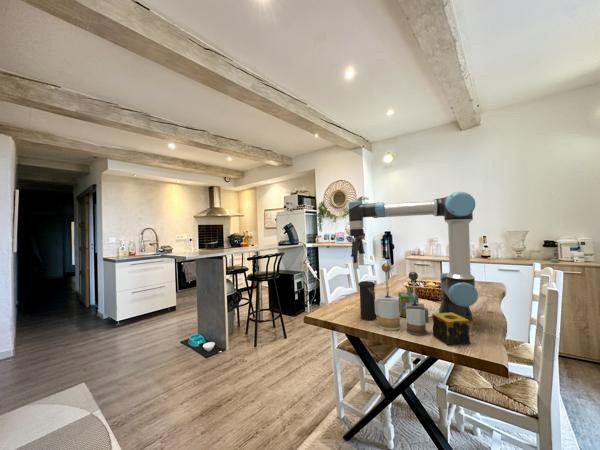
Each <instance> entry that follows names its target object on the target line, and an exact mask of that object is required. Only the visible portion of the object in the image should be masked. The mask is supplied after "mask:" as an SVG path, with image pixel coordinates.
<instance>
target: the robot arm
mask: <svg viewBox="0 0 600 450" xmlns="http://www.w3.org/2000/svg"><path fill="white" fill-rule="evenodd" d="M475 208H476V200H475V198H474V196H473V195H471V194H470V193H468V192H465V191H456V192H453V193H450V194H449V195H447V196H445V197H440V198H434V199H433V200H428V201H426V200H425V201H415V202H413V201H411V202H401V203H399V202H398V203H387V204H386V203H385V202H373V203H372V202H371V203H363V202H362V200H351V201H349V202H348V220H349V223H348V225H349V229H350V230H349V236H351V253H350V257H351V258H352V267H353V268H352V269H353V270H360V266H365V259H364V254H365V248H364V244H363V243H364V242H363V237H362V236H364V235H365V229H364V227H365V226H364V218H372V219H378V218H390V217H391V218H392V217H393V218H394V217H410V216H411V217H414V216H415V217H416V216H429V215H430V216H434V217H444V218H443V220H444V222H445V223H447V230H448V234H447V235H448V264H449V265H448V267H449V272H444V273H443V272H442V273H441V274H440V279H439V280H440V288H441V289H440V290H441V302H440V307H439V310H438V313H450V312H453V313H455V314H457V315H459V316H461V317H463V318H465V319H468V320H469V322H470V321H472V320H473V318H474V317H473V313H472V310H471V308H470V306H472V305H474V304H476V302H477V301H478V299H479V292H478V290H477V288H476V281H475V280H476V279H475V276H474V275H473V274H471V246H470V245H471V244H470V241H471V239H470V223H471V222H472V221H473V220H474V217H473V215H474V214H473V212H474V211H475Z"/></svg>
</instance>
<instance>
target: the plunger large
mask: <svg viewBox="0 0 600 450" xmlns="http://www.w3.org/2000/svg"><path fill="white" fill-rule="evenodd" d="M391 269H392V268H391V264H389V263H383V264H382V265H381V270H382V272H384V273H385V292H386V295H387V298H389V295H390V294H389V293H390V292H389V279H388V277H389V276H388V275H389V274H388V272H390V271H391Z"/></svg>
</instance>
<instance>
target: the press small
mask: <svg viewBox="0 0 600 450" xmlns="http://www.w3.org/2000/svg"><path fill="white" fill-rule="evenodd" d="M405 318H406V333H408V334H410V335H413V336H418V337H421V336H426V335H427V327H426V326H427V324H429V320H430V319H429V309H428V308H427V307H425V305H424V303H416V306H414V303H406V317H405Z"/></svg>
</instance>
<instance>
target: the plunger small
mask: <svg viewBox="0 0 600 450" xmlns="http://www.w3.org/2000/svg"><path fill="white" fill-rule="evenodd" d="M418 278H419V275H418V273H417V272H415V271H410V272H409V273H408V279H409V280H411V281H412V293H413V299H414V306H416V297H415V294H416V284H415V281H416V280H418Z"/></svg>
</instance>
